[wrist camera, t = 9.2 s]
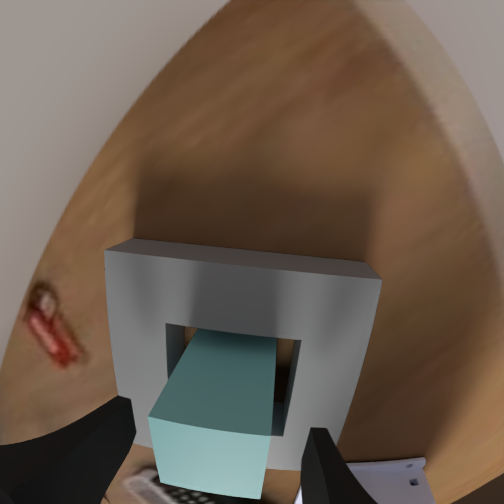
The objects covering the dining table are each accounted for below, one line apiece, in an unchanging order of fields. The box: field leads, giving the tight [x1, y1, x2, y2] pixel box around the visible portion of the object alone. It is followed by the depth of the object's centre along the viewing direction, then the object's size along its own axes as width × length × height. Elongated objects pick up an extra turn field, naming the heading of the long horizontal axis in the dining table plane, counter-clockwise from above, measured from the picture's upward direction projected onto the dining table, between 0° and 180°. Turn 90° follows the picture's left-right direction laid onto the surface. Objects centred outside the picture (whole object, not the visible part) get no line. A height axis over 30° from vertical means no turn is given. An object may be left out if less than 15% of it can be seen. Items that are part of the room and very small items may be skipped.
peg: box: [148, 328, 277, 499], centre depth 13 cm, size 4×4×8 cm
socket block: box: [104, 238, 382, 471], centre depth 16 cm, size 12×12×3 cm
